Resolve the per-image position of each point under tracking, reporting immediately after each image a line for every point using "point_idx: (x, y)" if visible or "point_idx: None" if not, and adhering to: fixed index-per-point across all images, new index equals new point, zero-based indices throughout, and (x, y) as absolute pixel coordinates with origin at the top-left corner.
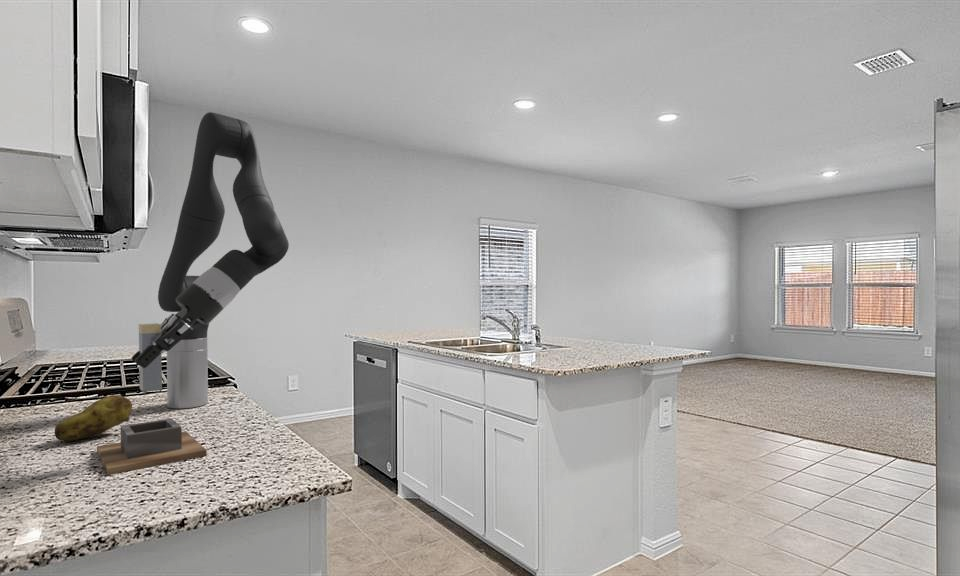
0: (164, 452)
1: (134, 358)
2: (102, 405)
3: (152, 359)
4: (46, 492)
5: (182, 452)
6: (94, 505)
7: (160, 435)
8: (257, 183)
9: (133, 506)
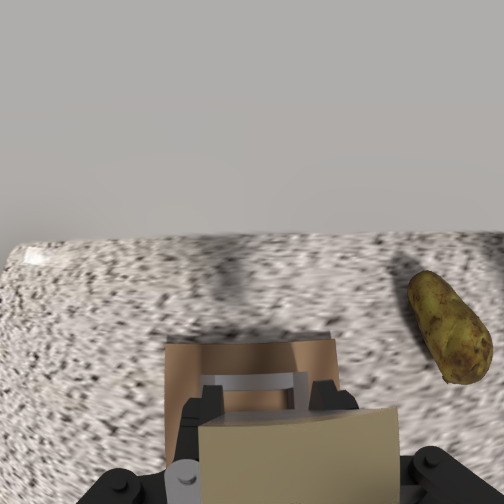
0: None
1: (315, 390)
2: (451, 330)
3: None
4: (147, 271)
5: None
6: (59, 312)
7: None
8: None
9: (28, 343)
